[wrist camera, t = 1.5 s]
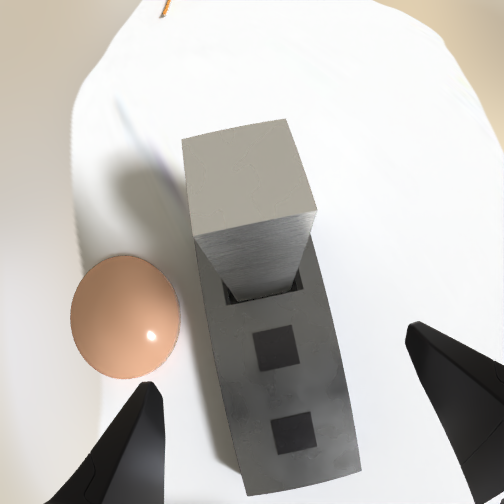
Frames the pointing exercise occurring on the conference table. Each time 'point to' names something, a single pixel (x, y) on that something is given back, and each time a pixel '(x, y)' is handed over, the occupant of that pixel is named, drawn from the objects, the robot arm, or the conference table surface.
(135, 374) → the terracotta coaster
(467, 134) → the conference table surface
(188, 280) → the conference table surface
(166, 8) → the katana
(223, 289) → the rack rail
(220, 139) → the steel peg
